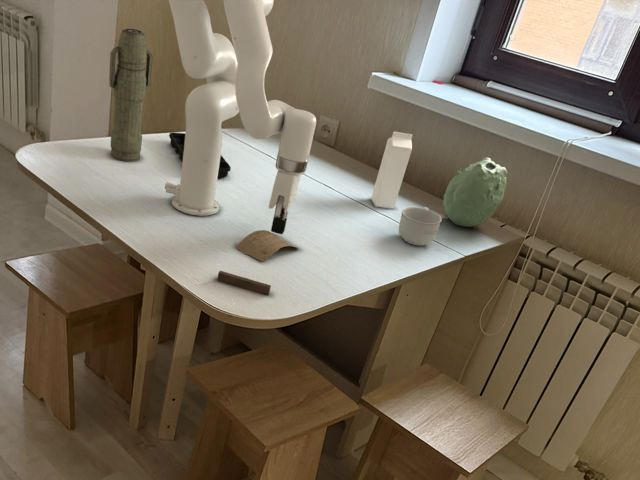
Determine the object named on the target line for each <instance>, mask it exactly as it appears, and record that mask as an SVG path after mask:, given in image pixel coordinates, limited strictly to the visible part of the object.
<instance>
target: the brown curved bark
mask: <svg viewBox="0 0 640 480" xmlns="http://www.w3.org/2000/svg"><path fill="white" fill-rule="evenodd" d="M284 247H294V248H296V249H298V250H299V249H300V248H298V247H296V246H295V245H293V244H292V243H289V242H288V241H286V240H284V239H283V238H281V237H279V236H278V235H276V234H274V232H272V231H269V230H267V229H263V230H262V229H261V230H255V231H252V232H251V233H249V234H248V235H246V236H245V237H244V238H243V239H242V240H241V241H240V242H239V243H238V244H236V249H237V250H238V251H240V252H242V253H243V254H244V255H248V256H251V257H252V258H255V260H258V261H261V262H266V261H267V260H268V259H269V258H270V257H271V256H272V255H274V254H275V253H276V252H278V251H279V250H280V249H282V248H284Z"/></svg>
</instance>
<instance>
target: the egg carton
mask: <svg viewBox="0 0 640 480" xmlns="http://www.w3.org/2000/svg"><path fill="white" fill-rule="evenodd" d="M168 137H169V139H170V143H169V145H170V147H171V148H172V149H174V153H175V154H177V155H178V159H179V161H180V162H183V154H184V143H185V132H170V133H169V134H168ZM231 170H232V167H231V165H230V163H228V162H227V161H226V159H225V158H224V156H223V155H221V157H220V164H219V171H218V177H217V179H224V178H227V177H228V175H229V172H231Z"/></svg>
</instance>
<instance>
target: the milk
mask: <svg viewBox="0 0 640 480" xmlns="http://www.w3.org/2000/svg"><path fill="white" fill-rule="evenodd" d="M412 139H413V134H412V133H406V132H399V131H393V132H392V135H391V136H390V137H389V138H387V141H386V145H385V148H384V152H383V155H382V158H381V162H380V166H379V170H378V173H377V177H376V180H375V183H374V186H373V190H372V194H371V198H370V199H371V201H372V203H373V205H374V207H375V208H384V209H391V210H394V209H395V206H396V203H397V199H398V196H399V194H400V189H401V187H402V183H403V180H404V177H405V173H406V170H407V167H408V164H409V161H410V157H411V155H412V152H413V151H412V150H413V142H412Z"/></svg>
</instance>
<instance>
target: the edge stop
mask: <svg viewBox="0 0 640 480" xmlns="http://www.w3.org/2000/svg"><path fill="white" fill-rule="evenodd" d="M216 281H217V282H221V283H225V284H227V285H230V286H231V285H232V286H235V287H238V288H241V289H244V290H248V291H252V292H255V293H258V294H261V295H265V296H269V295H270V292H271V287H272V285H271V284H267V283H264V282H261V281H257V280H254V279H250V278H247V277H243V276H240V275H237V274H233V273H230V272H227V271H223V270H219V271H218V273H217V279H216Z"/></svg>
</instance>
